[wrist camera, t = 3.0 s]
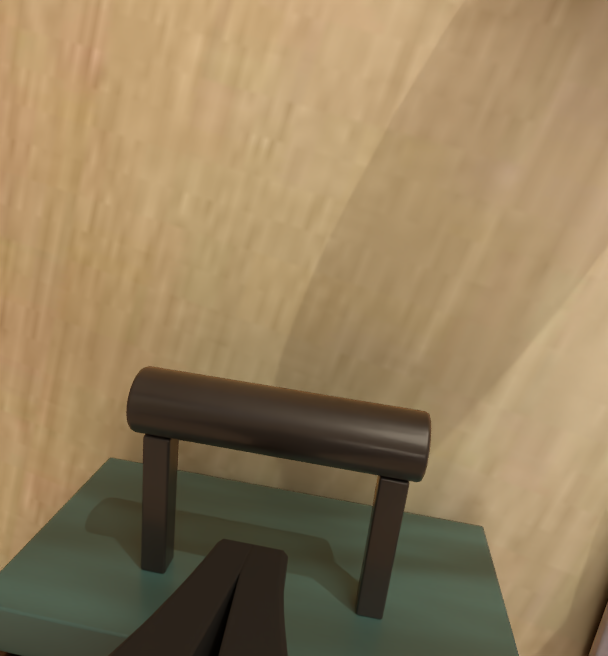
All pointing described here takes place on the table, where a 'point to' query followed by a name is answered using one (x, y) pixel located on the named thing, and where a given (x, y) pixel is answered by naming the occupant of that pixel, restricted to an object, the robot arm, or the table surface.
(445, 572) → the drawer
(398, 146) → the table surface
